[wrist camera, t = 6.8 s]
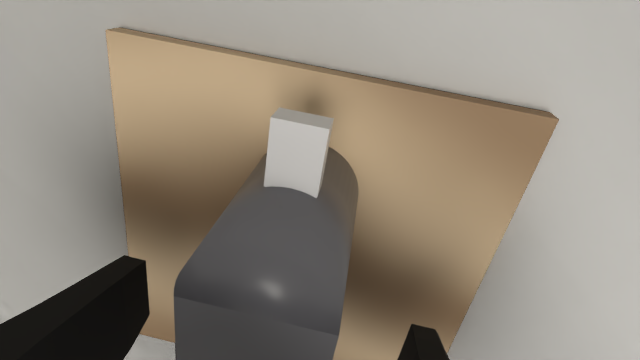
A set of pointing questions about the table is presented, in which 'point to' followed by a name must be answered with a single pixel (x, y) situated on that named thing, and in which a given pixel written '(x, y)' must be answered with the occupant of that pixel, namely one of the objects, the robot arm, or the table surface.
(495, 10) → the table surface
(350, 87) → the cork coaster
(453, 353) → the table surface
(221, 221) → the usb plug
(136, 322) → the robot arm
